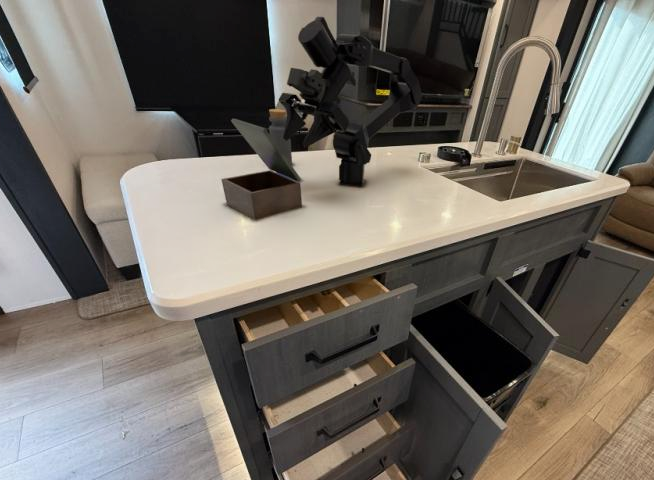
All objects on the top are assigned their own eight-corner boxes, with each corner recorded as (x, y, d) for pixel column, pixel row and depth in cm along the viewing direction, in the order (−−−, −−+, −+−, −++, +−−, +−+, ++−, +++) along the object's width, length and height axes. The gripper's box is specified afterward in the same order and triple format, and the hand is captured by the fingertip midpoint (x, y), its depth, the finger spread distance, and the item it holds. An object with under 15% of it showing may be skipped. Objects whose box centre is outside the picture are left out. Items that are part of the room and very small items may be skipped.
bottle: (289, 168, 100) (285, 112, 91) (270, 166, 99) (264, 110, 90) (294, 163, 104) (290, 110, 95) (276, 161, 104) (270, 108, 95)
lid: (262, 131, 61) (265, 128, 61) (230, 120, 66) (233, 117, 66) (299, 181, 72) (301, 179, 72) (269, 169, 78) (271, 166, 78)
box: (255, 220, 68) (250, 193, 65) (226, 204, 73) (221, 178, 70) (302, 206, 76) (300, 182, 73) (273, 193, 81) (270, 169, 78)
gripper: (281, 49, 71) (244, 108, 71) (339, 56, 62) (297, 123, 62) (310, 91, 81) (278, 143, 81) (365, 102, 72) (329, 161, 72)
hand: (294, 142), depth 73 cm, fingers open, 7 cm apart
